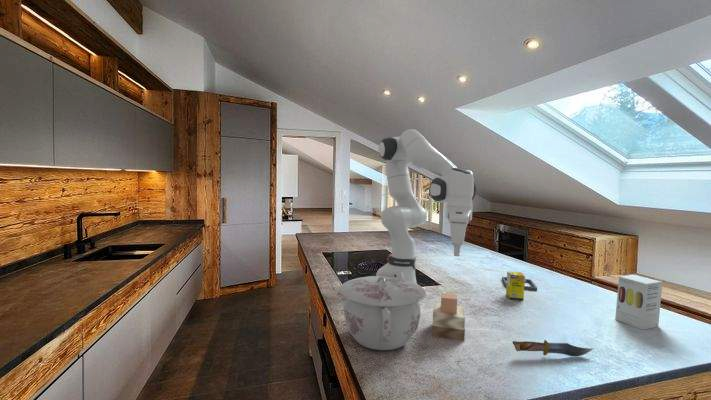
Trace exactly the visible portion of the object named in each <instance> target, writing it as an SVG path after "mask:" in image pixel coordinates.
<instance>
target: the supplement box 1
mask: <svg viewBox="0 0 711 400" xmlns="http://www.w3.org/2000/svg"><path fill="white" fill-rule="evenodd" d="M506 277H507V280H506V282H507V287H505V288H506V289H505V290H506V293H505V295H506V297H507V298H508V299H509V300H514V301H515V300H517V301H524V297H525V290H524V284H525V282H524V281H525V278H526V276H525V275H524V274H523V272H522V271H521V272H520V271H509V270H507V272H506Z"/></svg>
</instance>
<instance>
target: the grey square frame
mask: <svg viewBox="0 0 711 400" xmlns="http://www.w3.org/2000/svg"><path fill="white" fill-rule="evenodd" d="M501 281H502V283H503V285H504V286H505V287H504V288H506V287H507V276H502V277H501ZM524 283H529V284H530V285H531V286H529V285H528V286H524V291H525V290H526V291H538V287H537V285H536V284H535V283H534V281H533V280H532V279H531V278H526V281H525V282H524Z"/></svg>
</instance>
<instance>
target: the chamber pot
mask: <svg viewBox="0 0 711 400" xmlns="http://www.w3.org/2000/svg"><path fill="white" fill-rule="evenodd" d="M339 293H340V295H341V296H343V297H344V298H345V300H344V302H343V315H344V322H345V326H346V328H347V330H348V331H349V333H350V334H351V336H352V338H353V339H354V340H355V341H356V342H357V343H358V344H359V345H360V346H363V347H365V348H367V349H370V350H375V351H394V350H397V349H400V348H402V347H404V346H405V345H407V344H408V342H409V341H410V340H411V338H412V337H413V336H414V334H415V332H416V331H417V330H418V327H419V323H420V319H421V304H420V302H421V301H422V300H423V299H424V298H425V297H426V295H427V294H426V290H425V289H424V287H422V286H421V285H420V284H418V283H417V284H416V283H414V282H412V281H408V280H405V279H401V278H395V277H387V276H376V275H374V276H372V275H370V276H363V277H356V278H354V279H349V280H347V281H345V282H344V283H342V284H341V286H340V287H339Z"/></svg>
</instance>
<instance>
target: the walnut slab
mask: <svg viewBox="0 0 711 400" xmlns="http://www.w3.org/2000/svg"><path fill="white" fill-rule="evenodd" d="M465 334H466V331H465V326H464V330H461V329H453V328H446V327H439V326H433V325H432V337H435V338H441V339H447V340H455V341H462V342H464V341H465V339H466V338H465Z"/></svg>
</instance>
